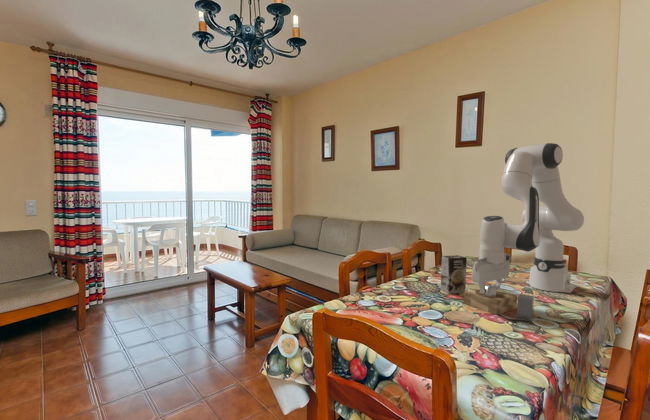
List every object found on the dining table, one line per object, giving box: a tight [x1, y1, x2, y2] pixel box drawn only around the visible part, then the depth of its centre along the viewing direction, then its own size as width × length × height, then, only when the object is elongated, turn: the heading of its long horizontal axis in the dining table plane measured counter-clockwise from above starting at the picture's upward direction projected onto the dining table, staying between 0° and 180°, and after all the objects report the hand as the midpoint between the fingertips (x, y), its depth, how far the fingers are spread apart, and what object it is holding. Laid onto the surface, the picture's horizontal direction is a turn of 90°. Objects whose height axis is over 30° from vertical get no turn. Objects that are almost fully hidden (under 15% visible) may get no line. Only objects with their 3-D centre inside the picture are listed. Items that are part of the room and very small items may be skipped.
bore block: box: [462, 287, 518, 316], centre depth 130 cm, size 14×14×5 cm
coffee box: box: [440, 255, 468, 295], centre depth 149 cm, size 9×6×16 cm
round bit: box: [484, 284, 496, 296], centre depth 130 cm, size 4×4×8 cm
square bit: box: [516, 293, 535, 323], centre depth 118 cm, size 4×4×8 cm
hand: (490, 291), depth 130 cm, fingers open, 8 cm apart
